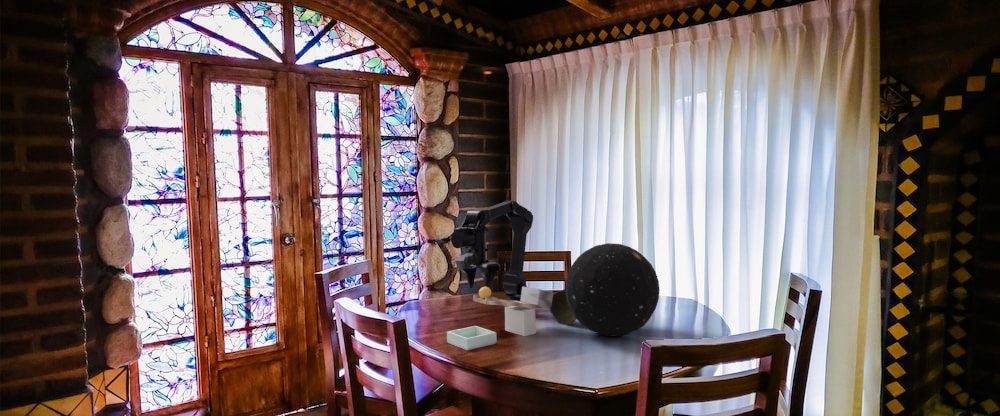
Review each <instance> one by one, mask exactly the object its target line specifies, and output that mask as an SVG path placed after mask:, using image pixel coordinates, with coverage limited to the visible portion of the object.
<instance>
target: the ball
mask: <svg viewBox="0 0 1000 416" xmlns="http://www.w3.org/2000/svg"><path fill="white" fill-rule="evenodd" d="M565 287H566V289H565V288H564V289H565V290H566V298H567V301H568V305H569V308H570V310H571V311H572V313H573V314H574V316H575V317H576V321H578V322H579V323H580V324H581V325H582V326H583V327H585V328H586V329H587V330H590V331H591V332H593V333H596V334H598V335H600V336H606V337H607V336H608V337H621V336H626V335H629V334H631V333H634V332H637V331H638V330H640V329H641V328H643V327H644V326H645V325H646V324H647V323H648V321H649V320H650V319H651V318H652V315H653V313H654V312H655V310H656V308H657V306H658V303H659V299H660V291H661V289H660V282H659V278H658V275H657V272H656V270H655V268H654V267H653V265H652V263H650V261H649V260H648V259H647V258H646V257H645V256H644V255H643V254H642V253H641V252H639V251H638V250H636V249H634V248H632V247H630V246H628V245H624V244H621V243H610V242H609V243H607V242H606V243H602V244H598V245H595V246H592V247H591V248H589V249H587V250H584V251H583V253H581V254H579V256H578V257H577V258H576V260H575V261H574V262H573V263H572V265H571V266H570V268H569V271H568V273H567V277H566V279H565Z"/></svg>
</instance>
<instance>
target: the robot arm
mask: <svg viewBox="0 0 1000 416" xmlns="http://www.w3.org/2000/svg"><path fill="white" fill-rule="evenodd" d="M504 215H506V217H507V218H508V219H509V220H510V227H511V230H512V233H513V236H512V248H511V255H510V256H511V257H510V266H509V271H507V273H504V274H503V281H502V287H503V288H502V289H503V290H504V294H505V297H506V298H509V299H508V300H512V301H520V299H521V292H522V287H528V286H527V279H526V275H525V272H524V264H525V263H524V262H525V255H526V254H525V253H526V245H527V235H528V233H529V231H530V230H531V229H532V228H533V221H534V215H533V213H532V212H531V210H528V209H527V208H526V207H525V206H523V205H521V204H520V203H518V202H517V201H516V200H504V201H503V202H501V203H498V204H494V205H492V206H490V207H489V206H488V207H486V208H477V209H476V208H475V209H469V210H467V212H466V215H465V217H464V219H463V222H462V223H461V225H460V227H459V228H457V227H456V228H455V229H454V232H453V233H452V235H451V237H450V241H451V245H452V247H453V248H455V249H462V248H463V249H464V248H466V250H465V251H466V253H465V254H461V255H460V256H458V257H456V258H455V259H454V261H455V262H454V263H455V264H456V268H457V269H459V270H460V271H461V272H463V274H464V275H465V278H466V281H467V284H468V287H469V288H470V289H472V288H473V287H474V286H475V285H474V284H475V279H476V273H477V269H479V270H480V272H479V274H480V275H481V276H482V278H483V279H482V280H483V287H488V288H490V287H491V285H492V284H493V281H494V279H495V277H496V275H497V274H499V272H501V264H499V262H496V261H495V262H493V261H491V262H489V259H487V252H489V248H488V247H487V246H486V245H487V241H486V240H487V239H486V238H487V237H486V233H487V232H490V229H489V228H488V227H487V225H489V224H490V223H491V222H492V220H493V219H496V218H498V217H501V216H504ZM490 289H491V288H490ZM526 308H527V307H526Z"/></svg>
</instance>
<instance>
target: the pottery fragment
mask: <svg viewBox="0 0 1000 416" xmlns="http://www.w3.org/2000/svg"><path fill="white" fill-rule="evenodd" d="M565 289H566V286H565V288H564V289H562V290H560V291H557V292H556V293H553V299H552V306H551V307H550V309H549V312H550V314H552V317H553V318H554V319H555V321H556V322H558V324H563V325H565V326H569V325H570V326H571V325H573V324H574V322H575V321H577V319H576V317H575V316H574V314H573V313H572V311H571V310H570V308H569V305H568V301H567V298H566V290H565Z"/></svg>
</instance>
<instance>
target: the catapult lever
mask: <svg viewBox="0 0 1000 416" xmlns="http://www.w3.org/2000/svg"><path fill="white" fill-rule="evenodd" d="M553 295H554V291H553V290H547V289H542V288H538V287H530V286H527V287H522V292H521V299H520V301H512V300H509V299H501V298H499V299H498V297H495V296H490V297H489V298H485V299H482V298H481V297H480V296H479V294H473V296H472V297H473V298H472V301H473V302H476V303H480V304H484V305H491V306H504V307H508V306H515V307H527V308H530V309H540V310H550V307H551V306H552V299H553Z"/></svg>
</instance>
